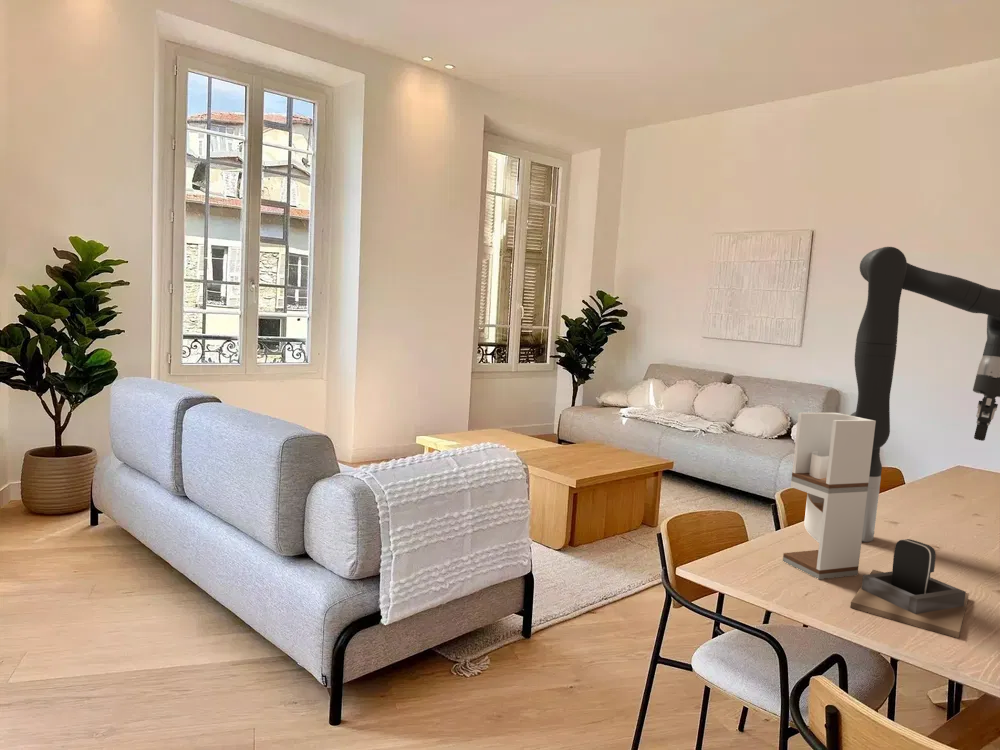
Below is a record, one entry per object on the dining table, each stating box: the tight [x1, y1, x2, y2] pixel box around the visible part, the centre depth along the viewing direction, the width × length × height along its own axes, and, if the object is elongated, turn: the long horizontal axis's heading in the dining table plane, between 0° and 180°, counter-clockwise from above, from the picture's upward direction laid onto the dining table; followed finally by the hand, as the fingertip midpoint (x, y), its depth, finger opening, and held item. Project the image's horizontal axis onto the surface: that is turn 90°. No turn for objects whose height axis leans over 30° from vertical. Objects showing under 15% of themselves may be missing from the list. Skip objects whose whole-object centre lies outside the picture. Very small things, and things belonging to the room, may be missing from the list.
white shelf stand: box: [782, 412, 876, 580], centre depth 157 cm, size 11×11×35 cm
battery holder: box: [849, 569, 970, 639], centre depth 141 cm, size 18×24×4 cm
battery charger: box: [891, 538, 937, 595], centre depth 141 cm, size 7×4×11 cm, turn 29°
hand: (978, 439), depth 173 cm, fingers open, 8 cm apart
